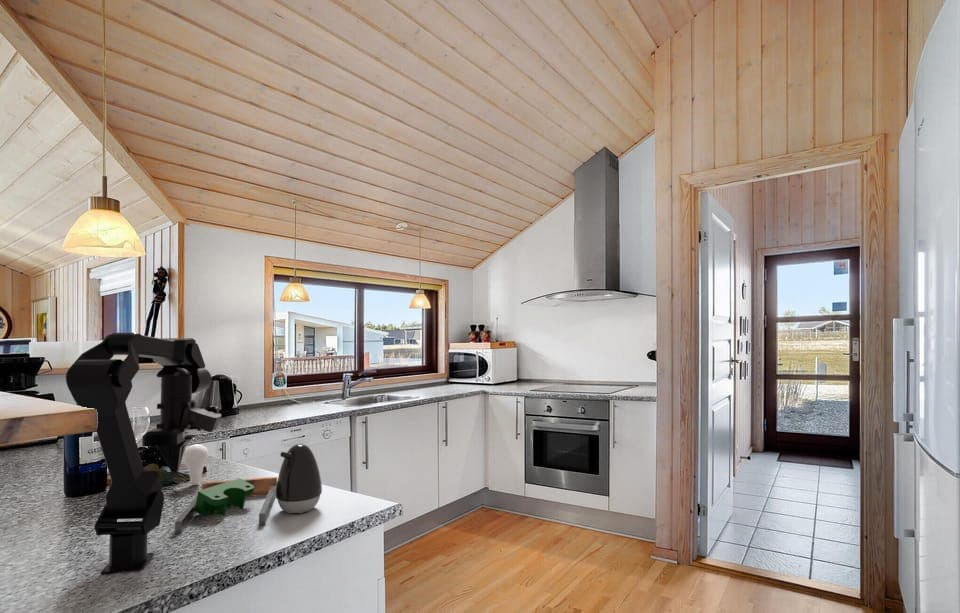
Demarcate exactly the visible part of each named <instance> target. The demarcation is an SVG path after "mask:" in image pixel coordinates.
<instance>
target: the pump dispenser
mask: <svg viewBox="0 0 960 613" xmlns="http://www.w3.org/2000/svg"><path fill="white" fill-rule="evenodd" d="M280 457H281V458H283V461H282V463H281V466H280V470H279V473H278V476H277V487H276V497H275V499H276V500H277V503H278V505H279V507H280V509H281V510H282V511H283V512H285V513H287V514H288V513H289V514H292V513H293V514H294V513H299V514H304V513H307V512H309V511H311V510H312V509H314V508H315V507H316V506H317V504H318V503H319V500H320V497H321V495H322V493H323V487H322V479H321V474H320V469H319V465H318V462H317V459H316V457H315V455H314V452H313V451H312V449H311V448H310V447H309V446H308V445H306V444H303V443H299V444H295V445H293V446H291V447H290V448H289V449H288V451H287V452H286V451H282V452H280ZM303 512H304V513H303ZM293 514H292V515H293ZM294 515H295V514H294Z"/></svg>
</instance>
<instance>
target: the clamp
mask: <svg viewBox="0 0 960 613" xmlns="http://www.w3.org/2000/svg"><path fill="white" fill-rule="evenodd" d="M242 479H243V478H237V479H231V480H232V481H229V480H228V481H229V482H226V483H222V484H219V485H216V486H213V487H209V488H206V489H203V490H202V489H200V490H198V491H197V495H196V496H197V500H196V505H195V512H197V514H199V515H200V516H202V517H204V516H208V515H210V514H214V513H216V514H218V515H220V516H221V517H225V516H226V513H227V512H226V511H227V509H228V508H230V507H235V508H239V509H240V510H244V508H245V502H246V497H248V496H247V495H250V494H252V493H253V490H254V486H253V485H252V484H250V483H248V482H246V481H244V480H242Z"/></svg>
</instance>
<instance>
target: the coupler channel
mask: <svg viewBox="0 0 960 613" xmlns="http://www.w3.org/2000/svg"><path fill="white" fill-rule="evenodd" d="M241 479H242V480H244V481H246V482H248V483H250V484H252V485H253V486H254V490H253V493H252V494H250V495H247V496H246V497H254V496H256V497H257V496H265V495H266V496H265V499H264V502H263V504H262V506H261V509H260V511H259V513H258V526H259V527H261V526H266V524H267V521H268V519H269V518H268V517H269V515H270V513H271V510H272V508H273V505H274V502H275V499H276V487H277V481H278V476H273V477H271V476H270V477H258V478H257V477H256V478H245V479H243V478H241ZM232 480H233V479H230V480H219V481H205V482H202V484H201V490H203V489H206V488H209V487H213V486H216V485H219V484H222V483H226V482H229V481H232ZM196 500H197V495H196V496H195V497H194V499H193V500H192V501H191V503H189V504H188V506H187V507H186V508H185V510H184V511H183V512H182V513H181V514H180V515H179V517H178V518H176V520H175V521H174V535H178V534H179V535H180V534H183V532H184V531H185V530H186V529H187V526H189V524H190V522H192V520H193V519H194V518H195V516H196V515H197V514H198V513H197V512H195V505H196Z"/></svg>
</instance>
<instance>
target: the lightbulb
mask: <svg viewBox="0 0 960 613" xmlns="http://www.w3.org/2000/svg"><path fill="white" fill-rule="evenodd" d="M208 458H209V451H208V449H207V447H206V446H205V445H203V444H200V443H199V444H197V443H195V444H191V445H189V446H188V447H187V448H185V451H184V454H183V457H182V461H183V463H184V464H185V466H186V468H187V470H188V475H189V480H190V481H189V483H190V484H191V485H193V486H197V485H198V484H200V483H201V482H202V475H203V470H204V467H205V464H206V463H207V461H208Z"/></svg>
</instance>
